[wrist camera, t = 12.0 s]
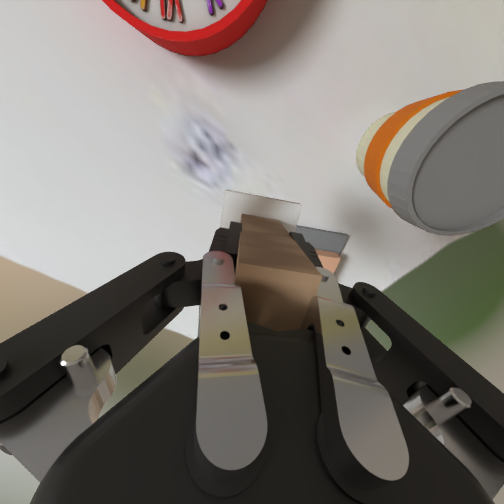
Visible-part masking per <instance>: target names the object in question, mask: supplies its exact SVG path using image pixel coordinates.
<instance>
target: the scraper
mask: <svg viewBox="0 0 504 504" xmlns="http://www.w3.org/2000/svg"><path fill="white" fill-rule="evenodd" d="M301 206H302V205H301V204H299V203H295V202H289V201H284V200H279V199H274V198H268V197H263V196H258V195H252V194H247V193H242V192H236V191H231V190H225V196H224V204H223V211H222V218H221V225H220V227H222V228H228V229H229V226H230V222H231V221H234V222H240V223H242V232H240V239H239V248H238V256H237V261H236V267H235V283H234V284H239V285H240V287H241V292H242V298H243V304H244V309H245V315H246V321H247V322H252V323H255V324H258V325H260V326H263V327H266V328H269V329H272V330H275V331H286V330H295V329H300V328H301V325H302V322H303V319H304V317H305V315H306V312H307V309H308V306H309V303H310V300H311V298H312V297H314V296H316V294H317V291H318V288H319V285H320V282H321V279H322V275H321V273H320V272H319V271H318V270H317V268H316V267H315V266H314V264H313V263H312V262H311V261H310V259H309V258H308V257H307V256H306V254H305V253H304V252H303V250H302V249H301V248H300V247H299V245H298V244H297V243H296V241H294V240H293V239H292V237H291V236H290V235H289V232H290V231H291V232H295V229H296V226H297V222H298V218H299V214H300V210H301Z"/></svg>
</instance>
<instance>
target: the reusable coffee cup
mask: <svg viewBox="0 0 504 504" xmlns="http://www.w3.org/2000/svg"><path fill="white" fill-rule="evenodd" d="M356 163H357V166H358V169H359V171H360V173H361V174H362V175H363V176H364V177H365V178H366V181H367V183H368V185H369V187H370V188H371V189H372V190H373V191H374V192H375V193H376V194H377V195H378V196H379V197H380V198H381V200H382V201H383V202H384V203H385V204H386V205H387V206H388V207H390V208H392V209H393V210H394V212H395V213H396V214H397V215H398V216H399V217H400V218H402V219H403V220H405V221H407V222H409V223H411V224H413V225H415V226H417V227H419V228H421V229H423V230H425V231H427V232H430V233H434V234H438V235H460V234H466V233H470V232H474V231H477V230H480V229H482V228H485V227H487V226H490V225H492V224H494V223H496V222H498V221H500V220H502V219H504V82H490V83H484V84H479V85H476V86H473V87H470V88H467V89H465V90H458V91H452V92H447V93H444V94H441V95H438V96H434V97H431V98H428V99H425V100H421V101H418V102H415V103H413V104H410V105H407V106H406V107H404V108H402V109H400V110H399V111H397V112H394V113H391V114H388V115H385V116H383V117H382V118H380V119H378V120H377V121H376V122H374V123H373V124H372V125H371V126H370V127H369V128H368V129H367V130H366V132H365V133H364V135H363V136H362V138H361V140H360V142H359V145H358V148H357V153H356Z"/></svg>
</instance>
